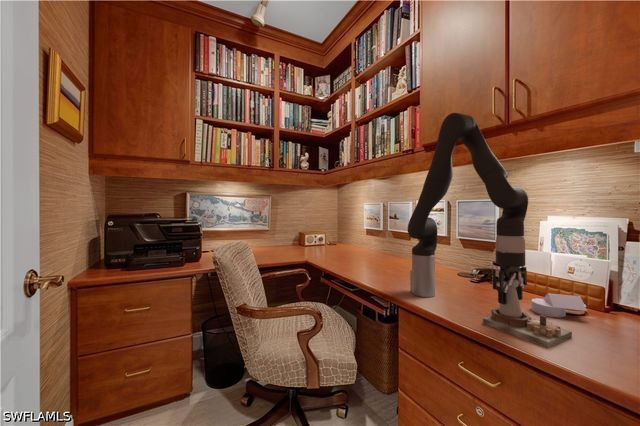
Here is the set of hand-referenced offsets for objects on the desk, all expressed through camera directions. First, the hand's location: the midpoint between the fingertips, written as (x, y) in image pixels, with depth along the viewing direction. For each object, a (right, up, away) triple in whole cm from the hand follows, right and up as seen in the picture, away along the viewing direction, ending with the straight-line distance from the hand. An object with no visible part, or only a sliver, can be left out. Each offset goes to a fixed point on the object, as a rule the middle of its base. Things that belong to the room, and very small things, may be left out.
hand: (510, 301), depth 81 cm
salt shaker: (0, -6, 0) cm, 6 cm away
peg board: (+2, -7, -3) cm, 8 cm away
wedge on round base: (+22, -7, +9) cm, 25 cm away
